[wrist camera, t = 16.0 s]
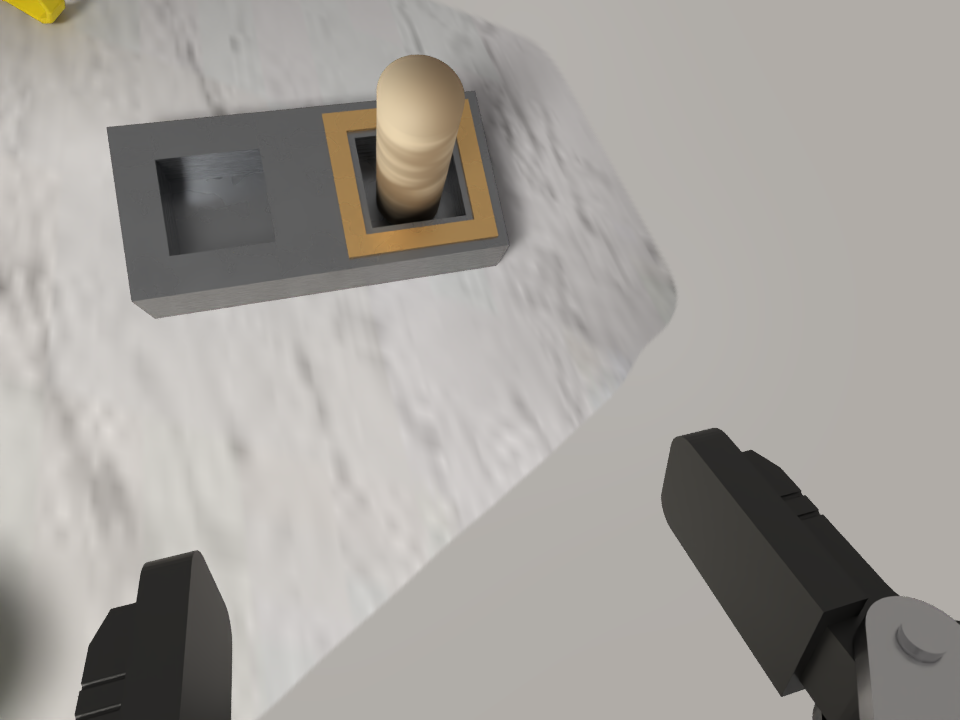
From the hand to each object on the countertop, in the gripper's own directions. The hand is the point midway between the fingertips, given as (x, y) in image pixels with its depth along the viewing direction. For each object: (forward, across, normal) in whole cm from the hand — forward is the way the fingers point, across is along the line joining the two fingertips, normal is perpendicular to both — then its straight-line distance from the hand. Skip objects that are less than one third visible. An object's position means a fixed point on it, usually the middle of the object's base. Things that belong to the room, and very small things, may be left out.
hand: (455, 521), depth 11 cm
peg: (+32, -5, +8) cm, 33 cm away
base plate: (+33, +1, +8) cm, 34 cm away
